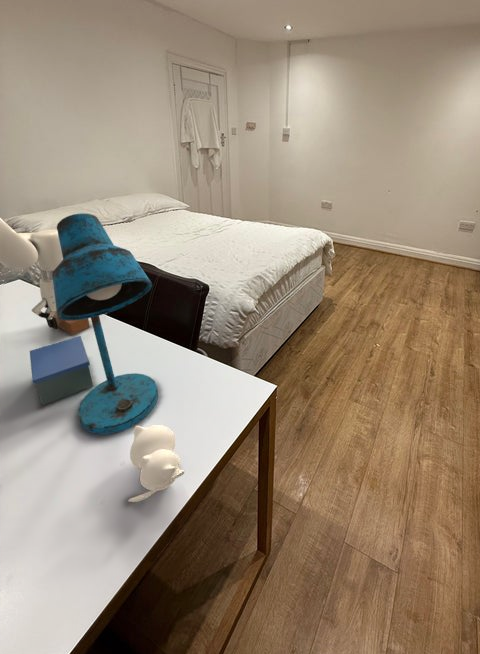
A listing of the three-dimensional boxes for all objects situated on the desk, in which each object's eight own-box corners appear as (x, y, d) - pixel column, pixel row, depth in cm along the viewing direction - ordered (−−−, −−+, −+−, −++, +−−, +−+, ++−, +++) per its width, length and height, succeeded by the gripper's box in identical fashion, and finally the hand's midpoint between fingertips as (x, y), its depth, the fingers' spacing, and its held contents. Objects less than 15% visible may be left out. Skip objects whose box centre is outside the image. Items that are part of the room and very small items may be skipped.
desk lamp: (99, 466, 61) (40, 244, 44) (70, 399, 75) (17, 212, 58) (179, 418, 72) (156, 225, 55) (141, 367, 86) (113, 201, 69)
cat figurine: (168, 458, 53) (150, 408, 62) (113, 513, 51) (102, 453, 59) (198, 471, 59) (177, 423, 68) (150, 521, 56) (135, 465, 65)
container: (37, 375, 82) (29, 350, 79) (86, 358, 88) (80, 335, 85) (41, 407, 73) (32, 380, 70) (95, 386, 79) (88, 361, 76)
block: (52, 324, 102) (49, 313, 100) (69, 316, 106) (66, 306, 104) (73, 335, 97) (70, 323, 96) (89, 326, 101) (87, 316, 100)
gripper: (80, 259, 103) (91, 305, 110) (16, 279, 89) (33, 330, 96) (94, 264, 100) (105, 311, 107) (31, 286, 86) (47, 338, 92)
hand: (71, 320), depth 101 cm, fingers open, 9 cm apart
